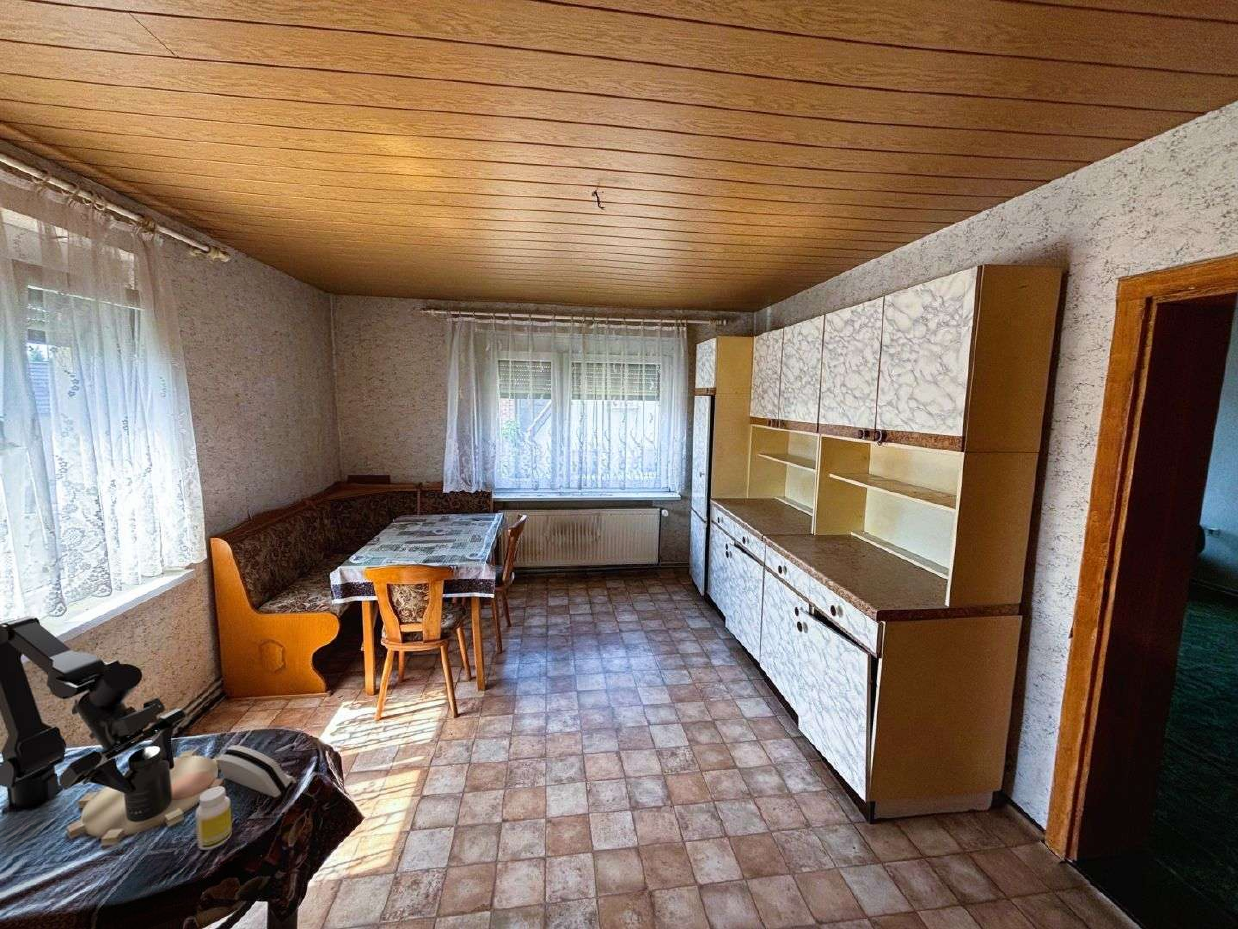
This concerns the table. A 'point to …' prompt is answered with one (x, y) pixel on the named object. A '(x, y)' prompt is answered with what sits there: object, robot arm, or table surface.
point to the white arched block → (253, 770)
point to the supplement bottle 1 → (148, 784)
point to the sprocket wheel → (111, 823)
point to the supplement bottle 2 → (213, 818)
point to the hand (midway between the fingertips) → (152, 780)
